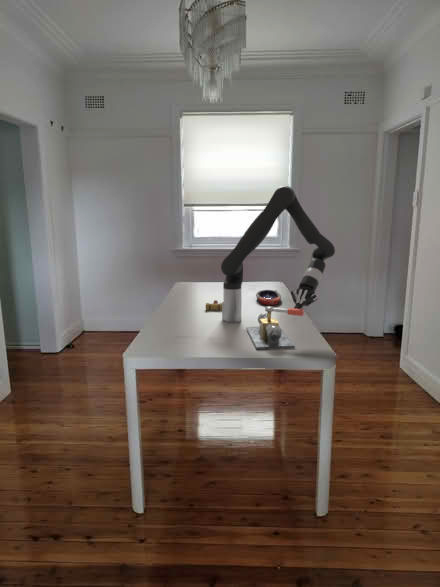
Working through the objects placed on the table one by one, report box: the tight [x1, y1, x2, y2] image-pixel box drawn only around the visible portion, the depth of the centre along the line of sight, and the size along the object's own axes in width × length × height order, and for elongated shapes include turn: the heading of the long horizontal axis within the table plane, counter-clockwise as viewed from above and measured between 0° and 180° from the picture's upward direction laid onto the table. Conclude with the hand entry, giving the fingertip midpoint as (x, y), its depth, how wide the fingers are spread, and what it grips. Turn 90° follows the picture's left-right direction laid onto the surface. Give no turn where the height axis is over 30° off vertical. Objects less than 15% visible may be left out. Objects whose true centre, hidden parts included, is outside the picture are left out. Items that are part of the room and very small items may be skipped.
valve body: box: [245, 312, 296, 351], centre depth 167 cm, size 27×16×12 cm, turn 5°
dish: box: [255, 289, 282, 306], centre depth 236 cm, size 16×31×5 cm, turn 175°
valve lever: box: [264, 305, 305, 317], centre depth 163 cm, size 17×4×2 cm, turn 65°
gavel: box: [205, 299, 222, 312], centre depth 224 cm, size 21×5×10 cm
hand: (296, 312), depth 163 cm, fingers closed
